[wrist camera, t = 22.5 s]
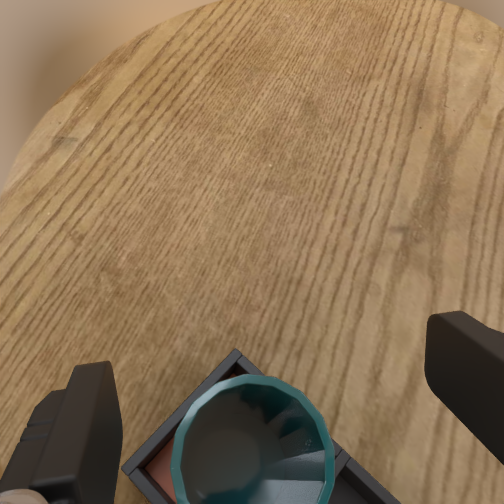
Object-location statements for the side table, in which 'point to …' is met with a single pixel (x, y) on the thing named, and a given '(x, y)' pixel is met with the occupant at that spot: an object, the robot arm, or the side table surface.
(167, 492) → the divided tray
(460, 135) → the side table surface
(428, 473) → the side table surface
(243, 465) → the cutlery cup
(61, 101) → the side table surface
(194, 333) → the side table surface
